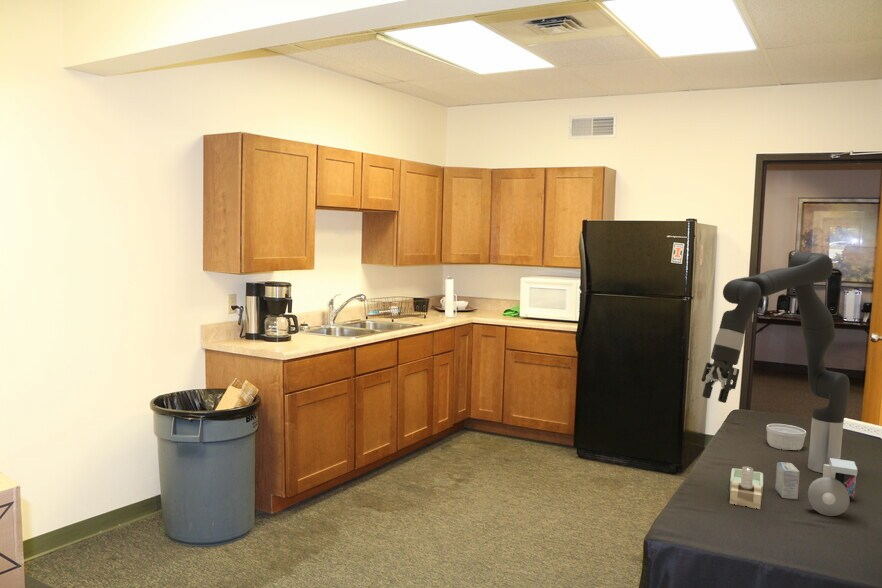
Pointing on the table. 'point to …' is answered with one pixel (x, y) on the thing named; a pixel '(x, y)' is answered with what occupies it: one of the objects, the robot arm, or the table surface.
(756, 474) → the tray
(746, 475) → the pin
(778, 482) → the medicine box
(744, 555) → the table surface
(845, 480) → the supplement container
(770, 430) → the ramekin
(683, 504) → the table surface
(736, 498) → the wooden square frame
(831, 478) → the trolley wheel
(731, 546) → the table surface
